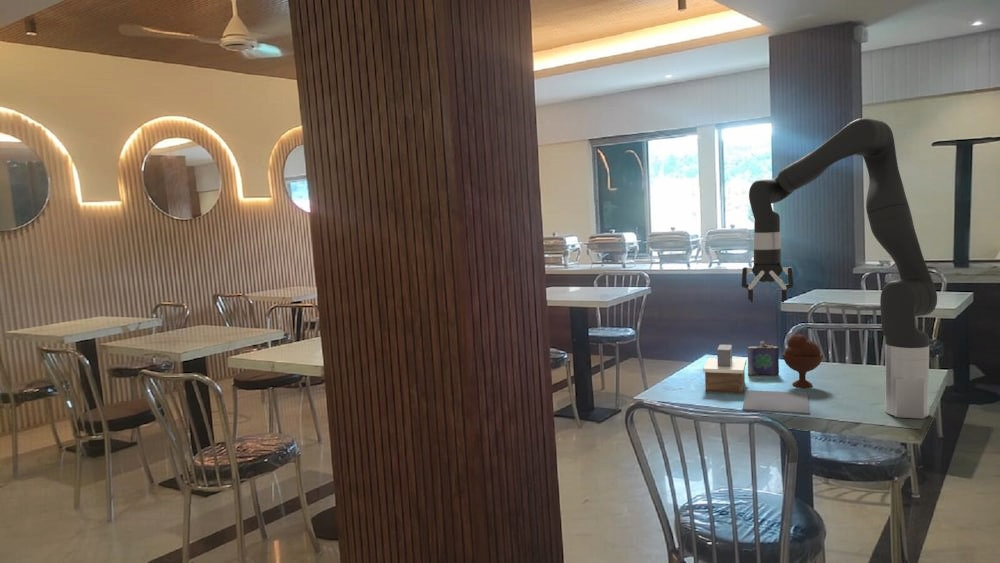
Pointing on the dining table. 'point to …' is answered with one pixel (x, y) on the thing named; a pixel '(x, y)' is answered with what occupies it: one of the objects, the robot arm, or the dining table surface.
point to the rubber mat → (776, 402)
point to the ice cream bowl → (802, 358)
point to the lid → (725, 362)
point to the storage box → (724, 382)
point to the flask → (763, 360)
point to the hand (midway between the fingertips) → (767, 301)
